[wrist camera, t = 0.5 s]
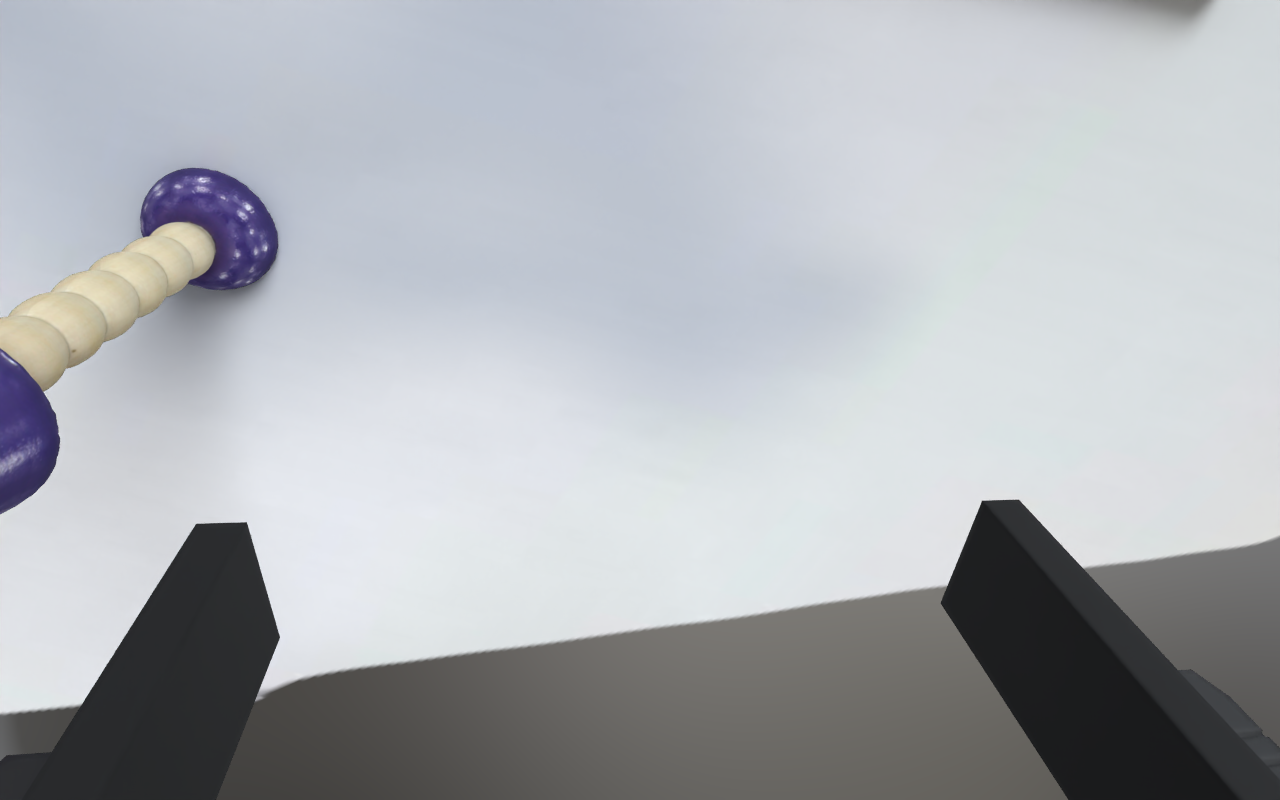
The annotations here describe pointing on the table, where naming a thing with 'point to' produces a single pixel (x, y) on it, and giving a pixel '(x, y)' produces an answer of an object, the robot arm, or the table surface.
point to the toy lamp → (121, 305)
